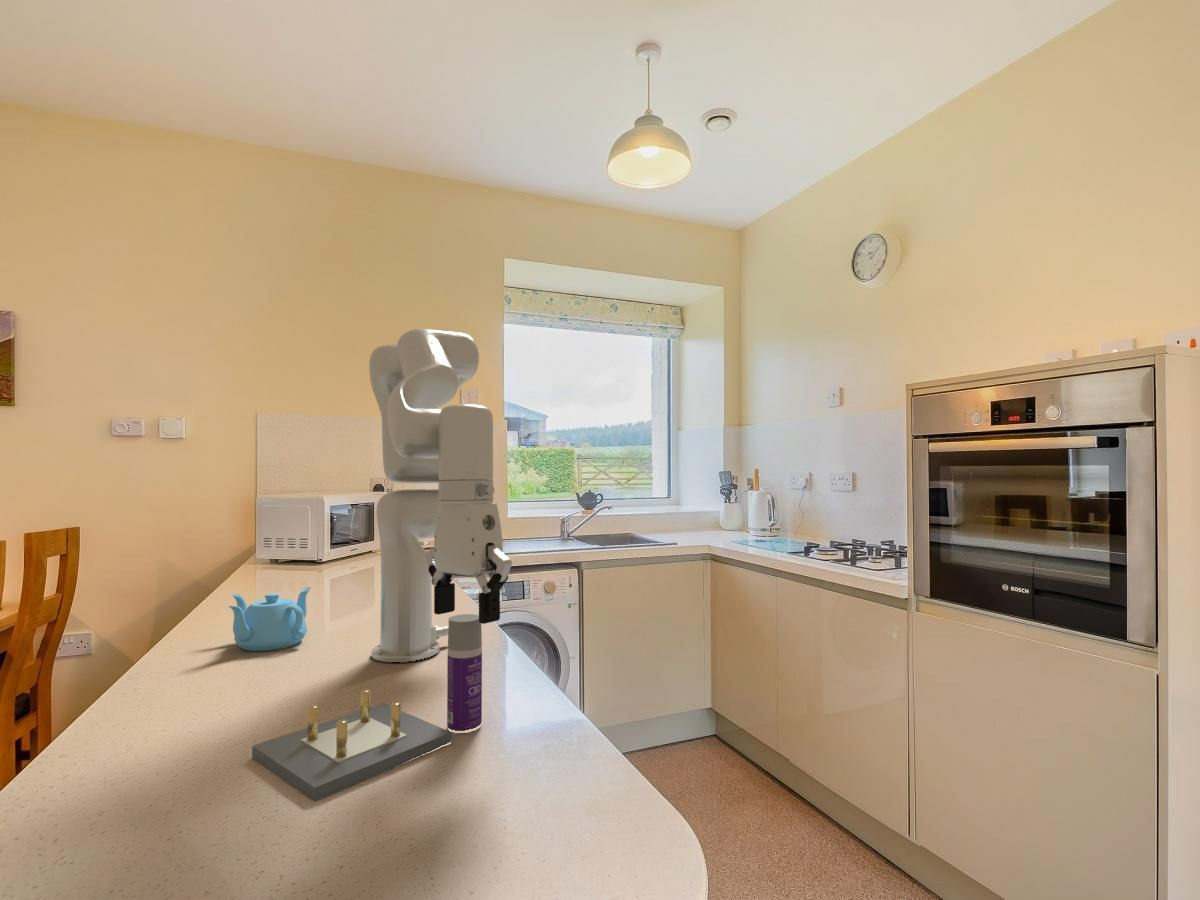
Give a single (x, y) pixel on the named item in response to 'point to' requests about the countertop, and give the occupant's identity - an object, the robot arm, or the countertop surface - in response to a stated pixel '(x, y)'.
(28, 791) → the countertop surface
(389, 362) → the robot arm
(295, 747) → the plate
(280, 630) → the teapot
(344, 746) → the standoffs
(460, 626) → the container
